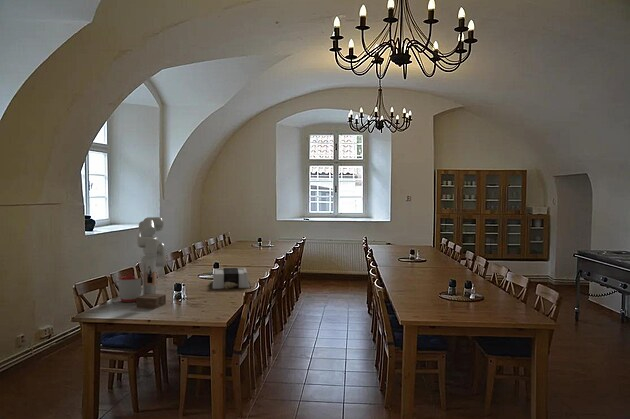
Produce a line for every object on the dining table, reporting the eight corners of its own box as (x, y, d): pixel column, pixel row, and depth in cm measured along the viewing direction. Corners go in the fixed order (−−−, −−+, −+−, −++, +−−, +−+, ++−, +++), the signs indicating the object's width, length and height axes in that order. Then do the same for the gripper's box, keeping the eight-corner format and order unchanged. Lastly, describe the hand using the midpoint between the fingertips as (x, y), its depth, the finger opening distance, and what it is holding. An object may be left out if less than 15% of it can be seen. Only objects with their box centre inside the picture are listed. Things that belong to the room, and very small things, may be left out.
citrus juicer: (148, 299, 364) (148, 272, 363) (130, 304, 348) (129, 275, 348) (132, 297, 371) (132, 270, 370) (113, 302, 355) (113, 274, 354)
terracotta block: (147, 283, 347) (147, 271, 347) (156, 283, 347) (156, 271, 347) (145, 285, 341) (145, 273, 341) (154, 284, 341) (154, 273, 341)
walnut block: (147, 303, 353) (147, 293, 353) (165, 304, 350) (165, 294, 350) (136, 307, 340) (136, 297, 339) (155, 309, 337) (155, 299, 336)
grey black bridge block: (251, 289, 407) (251, 273, 407) (210, 290, 401) (210, 274, 400) (248, 281, 442) (248, 267, 441) (210, 282, 435) (210, 267, 435)
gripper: (148, 254, 352) (148, 280, 352) (141, 257, 335) (142, 284, 335) (159, 254, 352) (159, 279, 353) (153, 257, 335) (153, 284, 336)
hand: (151, 281), depth 344 cm, fingers closed on terracotta block, 6 cm apart
